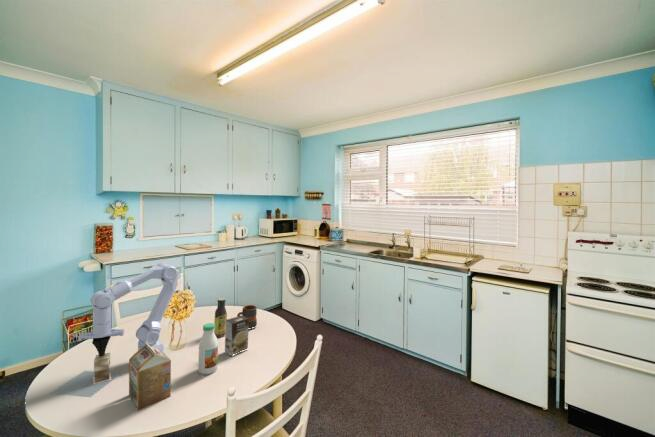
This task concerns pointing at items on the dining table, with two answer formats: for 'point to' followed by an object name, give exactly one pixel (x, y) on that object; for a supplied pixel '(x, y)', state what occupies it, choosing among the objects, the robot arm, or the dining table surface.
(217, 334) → the sauce bottle
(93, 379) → the light blue flat plate
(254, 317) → the mug
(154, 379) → the milk carton
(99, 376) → the walnut block
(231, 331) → the coffee box
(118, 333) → the robot arm
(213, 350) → the milk bottle
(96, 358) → the birch block
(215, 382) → the dining table surface
